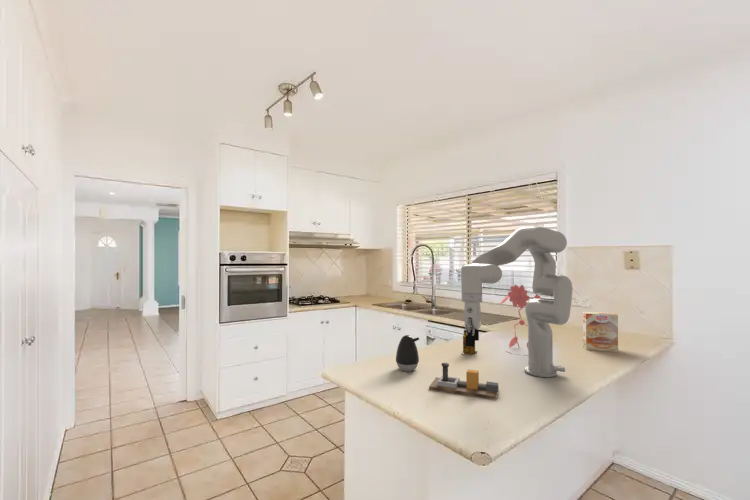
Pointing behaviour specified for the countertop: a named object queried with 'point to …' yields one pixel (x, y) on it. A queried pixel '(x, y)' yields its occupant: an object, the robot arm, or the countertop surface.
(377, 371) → the countertop surface
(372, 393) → the countertop surface
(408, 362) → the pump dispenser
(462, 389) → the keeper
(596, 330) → the coffeecake box
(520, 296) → the red flower sprig
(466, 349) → the condiment
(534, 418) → the countertop surface
